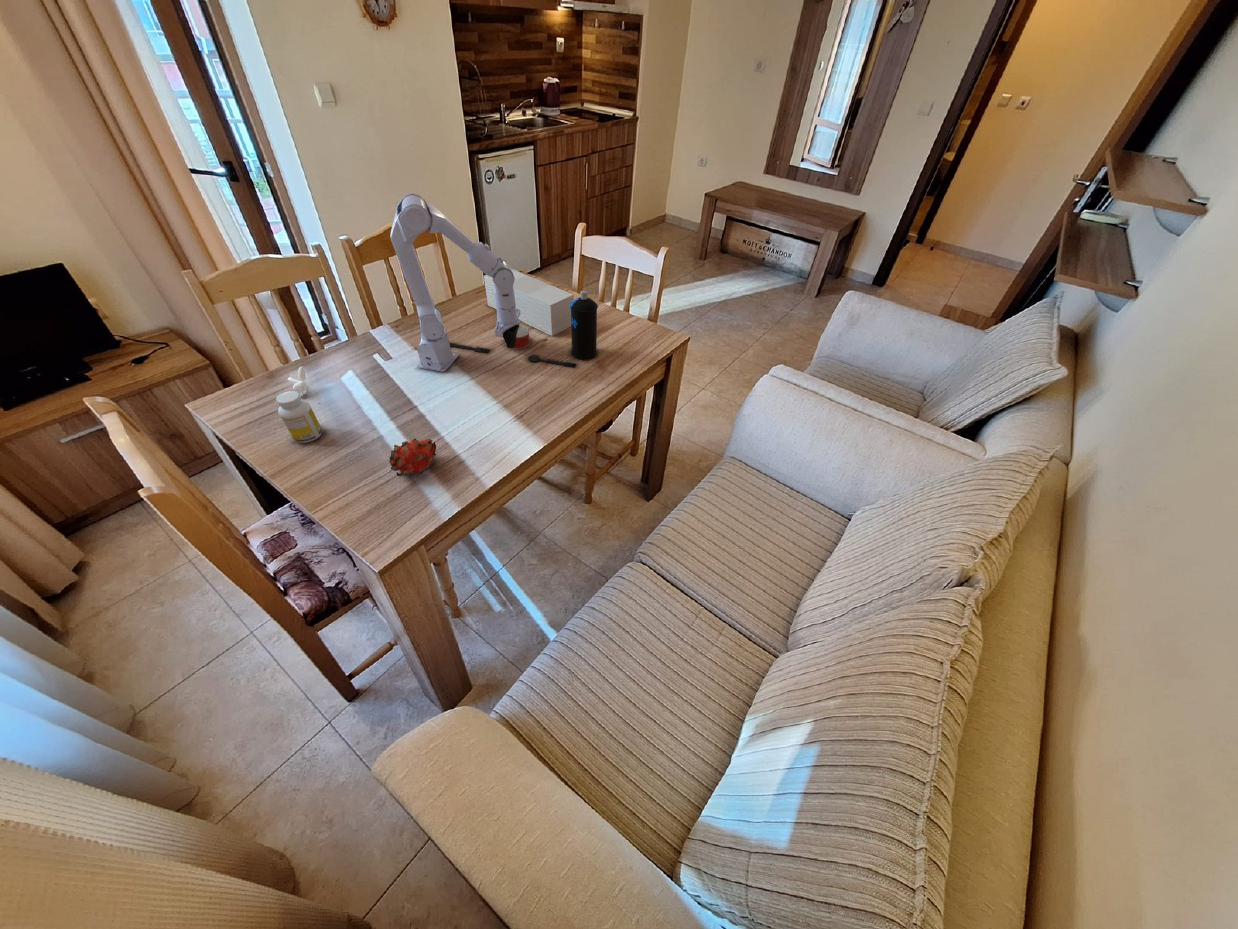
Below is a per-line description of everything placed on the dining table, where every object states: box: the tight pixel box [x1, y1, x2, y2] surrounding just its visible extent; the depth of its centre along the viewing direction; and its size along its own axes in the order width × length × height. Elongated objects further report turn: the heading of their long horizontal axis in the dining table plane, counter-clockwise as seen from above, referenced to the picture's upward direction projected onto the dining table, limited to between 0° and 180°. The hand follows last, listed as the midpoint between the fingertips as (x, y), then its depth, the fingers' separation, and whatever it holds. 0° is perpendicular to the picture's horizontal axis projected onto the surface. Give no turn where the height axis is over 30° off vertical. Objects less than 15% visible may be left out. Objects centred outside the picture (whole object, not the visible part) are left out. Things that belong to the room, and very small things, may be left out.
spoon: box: [527, 354, 577, 368], centre depth 145 cm, size 4×15×1 cm, turn 77°
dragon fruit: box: [388, 437, 437, 477], centre depth 108 cm, size 8×8×12 cm
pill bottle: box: [275, 390, 323, 444], centre depth 113 cm, size 6×6×12 cm
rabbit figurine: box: [287, 365, 309, 397], centre depth 128 cm, size 6×4×8 cm
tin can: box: [504, 325, 531, 350], centre depth 151 cm, size 8×8×4 cm
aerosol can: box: [570, 289, 599, 361], centre depth 143 cm, size 8×8×20 cm
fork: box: [449, 342, 491, 354], centre depth 149 cm, size 2×15×1 cm, turn 77°
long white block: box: [483, 268, 575, 337], centre depth 163 cm, size 32×11×11 cm, turn 51°
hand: (511, 346), depth 148 cm, fingers closed
